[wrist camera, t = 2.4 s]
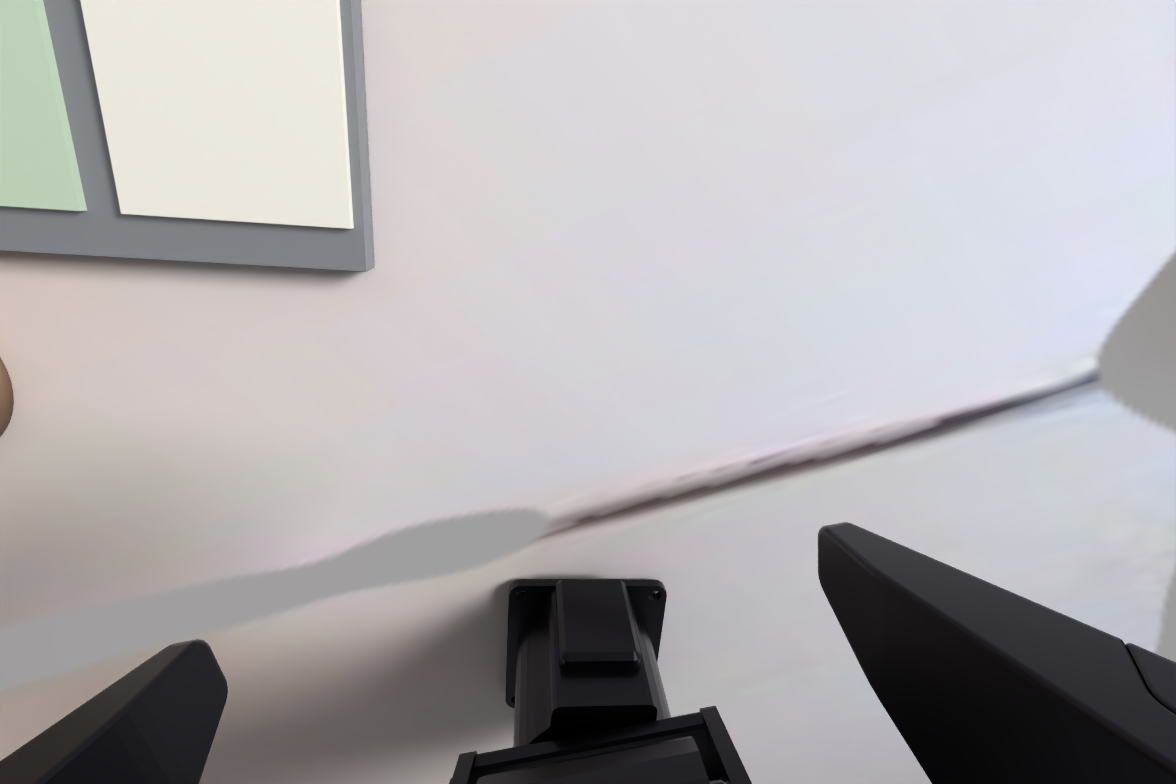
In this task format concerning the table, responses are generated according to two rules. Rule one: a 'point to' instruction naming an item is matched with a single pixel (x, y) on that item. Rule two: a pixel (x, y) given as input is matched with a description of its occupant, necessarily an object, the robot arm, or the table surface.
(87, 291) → the table surface
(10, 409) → the brown wooden peg
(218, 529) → the table surface
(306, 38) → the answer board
